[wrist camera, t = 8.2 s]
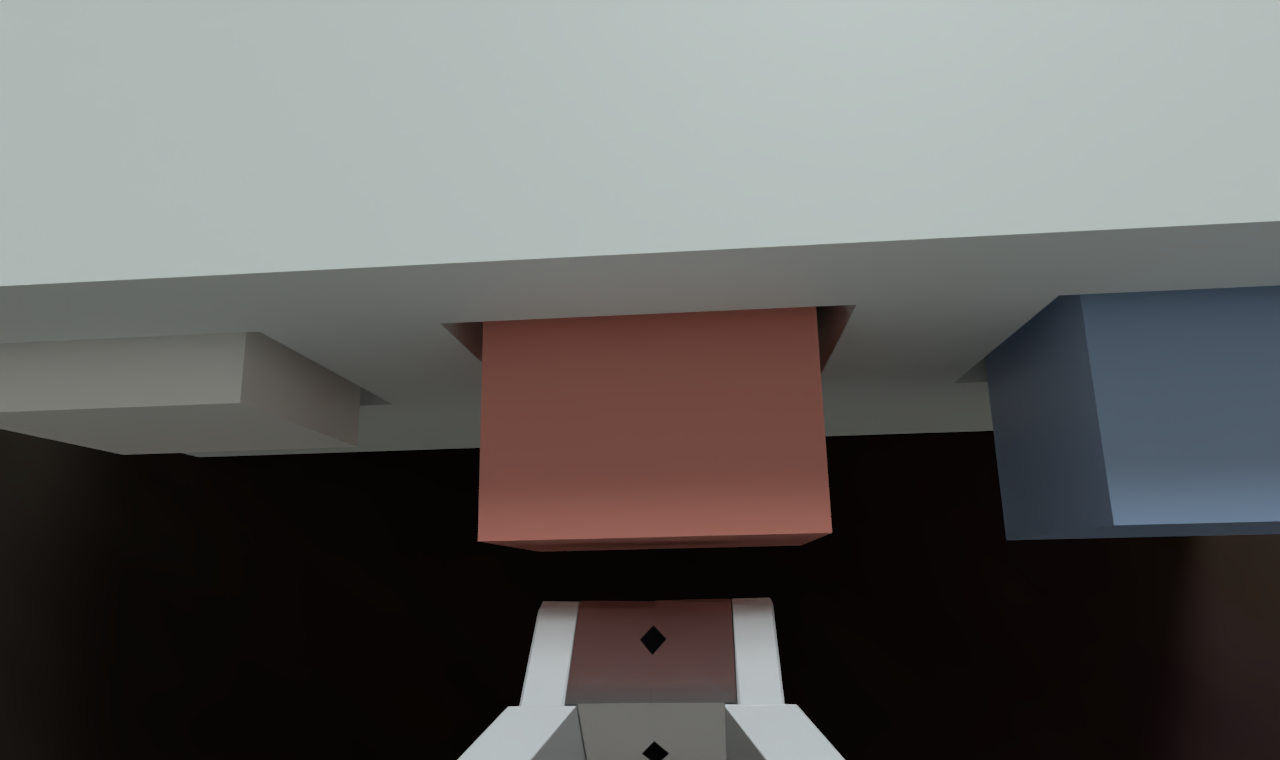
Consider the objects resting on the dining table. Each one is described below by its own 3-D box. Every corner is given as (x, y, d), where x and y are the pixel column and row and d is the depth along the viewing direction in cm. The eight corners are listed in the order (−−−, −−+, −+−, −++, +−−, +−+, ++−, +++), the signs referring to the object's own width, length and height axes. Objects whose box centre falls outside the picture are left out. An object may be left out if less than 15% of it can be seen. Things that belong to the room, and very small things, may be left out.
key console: (199, 457, 19) (-426, 307, 9) (238, 70, 22) (-218, -419, 11) (1204, 424, 18) (1938, 187, 7) (1130, 7, 20) (1601, -643, 9)
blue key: (1006, 540, 13) (1114, 525, 9) (983, 344, 13) (1075, 263, 10) (1291, 533, 12) (1512, 515, 9) (1253, 334, 13) (1444, 245, 10)
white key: (123, 454, 14) (-66, 415, 11) (143, 283, 15) (-27, 194, 11) (357, 447, 14) (240, 402, 10) (367, 272, 14) (260, 177, 11)
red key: (539, 551, 13) (477, 541, 10) (540, 363, 14) (483, 292, 10) (801, 545, 13) (832, 532, 9) (788, 353, 13) (813, 276, 10)
